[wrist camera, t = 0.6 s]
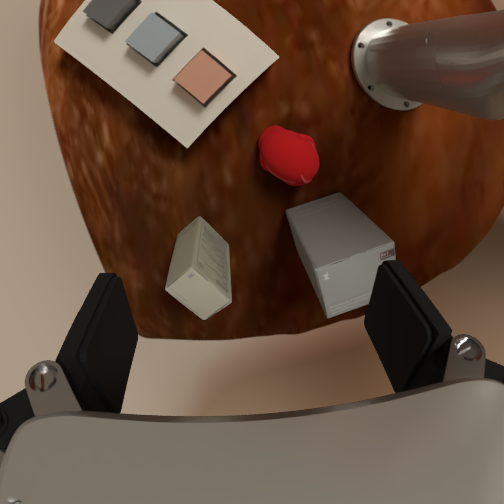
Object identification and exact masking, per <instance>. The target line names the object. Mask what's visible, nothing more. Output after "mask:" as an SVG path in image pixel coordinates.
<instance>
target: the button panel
mask: <svg viewBox="0 0 504 504" xmlns="http://www.w3.org/2000/svg"><path fill="white" fill-rule="evenodd" d="M91 1H92V0H85V1H84V2H83V4H82V5H81V6H80V7H79V8H78V10H77V11H76V12H75V13H74V15H73V16H72V17H71V19H70V20H69V21H68V22H67V24H66V25H65V26H64V28H63V29H62V30H61V32H60V33H59V35H58V36H57V37H56V39H55V40H54V43H56V44H57V45H58V46H60V47H61V48H62V49H64V50H65V51H66V52H68V53H69V54H70V55H72V56H73V57H74V58H76V59H77V60H78V61H80V62H81V63H82V64H83V65H85V66H86V67H87V68H89V69H90V70H91V71H93V72H94V73H95V74H96V75H98V76H99V77H100V78H101V79H103V80H104V81H105V82H107V83H108V84H109V85H110V86H112V87H113V88H114V89H115V90H117V91H118V92H119V93H120V94H122V95H123V96H124V97H125V98H127V99H128V100H129V101H130V102H132V103H133V104H134V105H135V106H137V107H138V108H139V109H140V110H141V111H143V112H144V113H145V114H146V115H148V116H149V117H150V118H151V119H153V120H154V121H155V122H156V123H157V124H159V125H160V126H161V127H162V128H163V129H165V130H166V131H167V132H168V133H169V134H171V135H172V136H173V137H174V138H175V139H177V140H178V141H179V142H180V143H181V144H183V145H184V146H185V147H186V148H188V147H189V146H190V145H191V144H192V143H193V142H194V141H195V140H196V138H197V137H198V136H199V135H200V134H201V133H202V132H203V131H204V130H205V129H206V128H207V127H208V126H209V125H210V123H211V122H212V121H213V120H214V119H215V118H216V117H217V116H218V115H219V114H220V113H221V112H222V111H223V110H224V109H225V108H226V107H227V106H228V105H229V104H230V103H231V102H232V101H233V100H234V99H235V98H236V97H237V96H238V95H239V94H240V93H241V92H242V91H243V90H244V89H245V88H246V87H248V86H249V85H250V84H251V83H252V82H253V81H254V80H255V79H256V78H257V77H258V76H259V75H260V74H261V73H263V72H264V71H265V70H266V69H267V68H268V67H269V66H270V65H271V64H272V63H274V62H275V61H276V60H277V59H278V58H279V56H278V55H277V54H276V53H275V52H274V51H272V50H271V49H270V48H269V47H268V46H267V45H266V44H265V43H264V42H263V41H261V40H260V39H259V38H258V37H257V36H256V35H255V34H253V33H252V32H251V31H250V30H249V29H248V28H246V27H245V26H244V25H243V24H242V23H240V22H239V21H238V20H237V19H236V18H234V17H233V16H232V15H231V14H229V13H228V12H227V11H226V10H224V9H223V8H222V7H220V6H219V5H218V4H217V3H215V2H214V1H213V0H135V1H136V2H137V3H138V4H140V5H139V6H138V7H137V8H136V9H135V10H134V11H133V12H132V13H131V14H130V15H129V16H128V17H127V18H126V20H125V21H124V22H123V23H122V24H121V25H120V26H119V27H118V29H117V30H116V31H114V30H111V29H109V28H106V27H105V26H103V25H102V24H100V23H99V22H97V21H96V20H95V19H93V18H92V17H90V16H89V15H87V14H86V13H84V12H83V10H84V9H85V8H86V7H87V5H88V4H89V3H90V2H91ZM151 12H152V13H154V14H155V15H157V16H158V17H159V18H161V19H162V20H164V21H165V22H166V23H168V24H169V25H170V26H172V27H173V28H174V29H176V30H177V31H178V32H180V33H181V34H182V35H183V36H184V38H183V39H182V40H181V41H180V42H179V43H178V44H177V45H176V46H175V47H174V48H173V49H172V50H171V51H170V52H169V53H168V54H167V55H166V56H165V58H164V59H163V60H162V61H161V62H160V63H159V64H158V63H154V62H152V61H150V60H149V59H148V58H146V57H145V56H144V55H143V54H141V53H140V52H139V51H137V50H136V49H135V48H133V47H132V46H131V45H129V44H128V43H127V42H125V40H126V39H127V38H128V37H129V36H130V35H131V34H132V33H133V31H134V30H135V29H136V28H137V27H138V26H139V25H140V24H141V23H142V22H143V21H144V19H145V18H146V17H147V16H148V15H149V14H150V13H151ZM201 50H202V51H204V52H205V53H206V54H207V55H208V56H210V57H211V58H212V59H213V60H214V61H216V62H217V63H218V64H219V65H220V66H222V67H223V68H224V69H225V70H226V71H227V72H228V73H230V74H231V75H232V76H231V77H230V78H229V79H228V80H227V81H226V82H225V83H224V84H223V85H222V86H221V87H220V88H219V89H218V90H217V91H216V92H215V93H214V94H213V95H212V96H211V97H210V98H209V99H208V100H207V101H206V102H205V103H204V104H203V103H202V102H200V101H199V100H198V99H197V98H196V97H195V96H193V95H192V94H191V93H190V92H189V91H187V90H186V89H185V88H184V87H183V86H181V85H180V84H179V83H178V82H177V81H175V80H174V78H175V77H176V76H177V75H178V74H179V73H180V72H181V71H182V70H183V69H184V68H185V67H186V66H187V65H188V63H189V62H190V61H191V60H192V59H193V58H194V57H195V56H196V55H197V54H198V53H199V52H200V51H201Z"/></svg>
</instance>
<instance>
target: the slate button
mask: <svg viewBox="0 0 504 504" xmlns="http://www.w3.org/2000/svg"><path fill="white" fill-rule="evenodd" d="M183 38H184V36H183V35H182V34H181V33H180V32H178V31H177V30H176V29H174V28H173V27H172V26H170V25H169V24H168V23H166V22H165V21H164V20H162V19H161V18H159V17H158V16H157V15H155V14H154V13H152V12H151V13H150V14H149V15H148V16H147V17H146V18H145V19H144V21H143V22H142V23H141V24H140V25H139V26H138V27H137V28H136V29H135V30H134V31H133V33H132V34H131V35H130V36H129V37H128V38H127V39H126V40H125V42H127V43H128V44H129V45H131V46H132V47H133V48H135V49H136V50H137V51H139V52H140V53H141V54H143V55H144V56H145V57H146V58H148V59H149V60H150V61H152V62H154V63H158V64H159V63H160V62H161V61H162V60H163V59H164V58H165V56H166V55H167V54H168V53H169V52H170V51H171V50H172V49H173V48H174V47H175V46H176V45H177V44H178V43H179V42H180V41H181V40H182V39H183Z"/></svg>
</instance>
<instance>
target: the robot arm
mask: <svg viewBox="0 0 504 504" xmlns="http://www.w3.org/2000/svg"><path fill="white" fill-rule="evenodd" d="M386 23H387V24H386ZM387 25H388V26H387ZM358 45H360V48H359V47H358ZM351 62H352V68H353V71H354V74H355V77H356V79H357V81H358V83H359V85H360V86H361V88H362V89H363V90H364V92H365V93H366V94H367V95H368V96H369V97H370V98H371V99H372V100H374V101H375V102H377V103H378V104H380V105H382V106H384V107H387V108H390V109H394V110H410V109H413V108H416V107H418V106H420V105H422V104H423V103H424V104H428V105H433V106H437V107H441V108H445V109H449V110H453V111H457V112H461V113H464V114H468V115H471V116H474V117H478V118H481V119H486V120H499V119H504V10H499V11H494V12H486V13H479V14H471V15H463V16H456V17H450V18H443V19H437V20H431V21H425V22H420V23H415V24H410V25H409V24H407V23H406V22H403V21H400V20H397V19H390V18H387V19H379V20H375V21H373V22H371V23H368V24H367V25H366V26H364V27H363V28H362V29H361V30H360V31H359V32H358V34H357V35H356V37H355V39H354V41H353V45H352V49H351ZM368 86H369V87H370V88H369V89H368ZM404 103H405V104H404ZM364 325H365V328H366V330H367V332H368V334H369V337H370V339H371V341H372V343H373V345H374V347H375V349H376V351H377V354H378V355H379V358H380V360H381V362H382V364H383V367H384V369H385V371H386V373H387V375H388V378H389V380H390V382H391V384H392V387H393V389H394V391H395V394H391V395H386V396H382V397H377V398H372V399H367V400H362V401H357V402H352V403H346V404H340V405H334V406H328V407H321V408H314V409H306V410H298V411H289V412H279V413H269V414H254V415H236V416H205V417H204V416H197V417H195V416H193V417H192V416H191V417H190V416H188V417H187V416H156V415H135V414H120V412H121V409H122V404H123V399H124V394H125V390H126V385H127V381H128V377H129V373H130V369H131V365H132V361H133V356H134V353H135V348H136V345H137V341H138V332H137V329H136V326H135V323H134V319H133V316H132V313H131V310H130V307H129V303H128V300H127V297H126V293H125V290H124V286H123V282H122V279H121V277H117V275H116V274H115V273H100V274H99V275H98V277H97V278H96V280H95V282H94V284H93V286H92V288H91V290H90V291H89V293H88V295H87V297H86V299H85V301H84V303H83V305H82V307H81V309H80V311H79V312H78V314H77V316H76V318H75V320H74V322H73V324H72V326H71V328H70V330H69V332H68V334H67V336H66V338H65V341H64V343H63V345H62V347H61V350H60V352H59V354H58V356H57V358H56V361H50V360H47V361H42V362H39V363H37V364H36V365H34V366H33V367H32V368H31V369H30V370H29V371H28V373H27V375H26V378H25V387H26V388H25V389H23V390H22V391H20V392H18V393H17V394H15V395H13V396H12V397H10V398H8V399H6V400H5V401H3V402H1V403H0V504H504V366H502V365H500V364H497V363H495V362H492V361H490V360H488V359H486V358H485V357H486V354H485V349H484V347H483V345H482V344H481V343H480V342H479V341H478V340H477V339H476V338H474V337H472V336H470V335H465V334H462V335H457V336H455V337H454V338H453V337H452V336H451V333H452V329H451V328H450V327H449V325H448V324H447V322H446V321H445V320H444V318H443V317H442V315H441V314H440V313H439V311H438V310H437V309H436V307H435V306H434V304H433V303H432V302H431V300H430V299H429V298H428V296H427V295H426V294H425V292H424V291H423V290H422V289H421V287H420V286H419V285H418V283H417V282H416V281H415V280H414V278H413V277H412V276H411V274H410V273H409V272H408V271H407V269H406V268H405V267H404V266H403V265H402V263H401V262H400V261H399V260H385V261H383V262H382V265H379V266H378V269H377V273H376V277H375V281H374V285H373V289H372V293H371V297H370V301H369V304H368V308H367V312H366V315H365V320H364Z"/></svg>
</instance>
